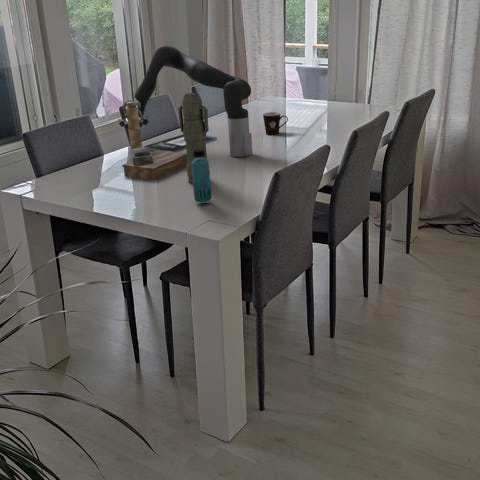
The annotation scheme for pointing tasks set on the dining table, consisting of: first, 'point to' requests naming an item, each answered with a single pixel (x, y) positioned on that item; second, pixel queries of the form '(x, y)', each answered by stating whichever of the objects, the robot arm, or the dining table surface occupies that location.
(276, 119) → the coffee mug
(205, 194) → the beverage bottle
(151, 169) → the board with square socket
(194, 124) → the thermos
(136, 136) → the wooden square peg
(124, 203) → the dining table surface
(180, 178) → the dining table surface
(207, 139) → the sketchbook
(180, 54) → the robot arm
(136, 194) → the dining table surface
